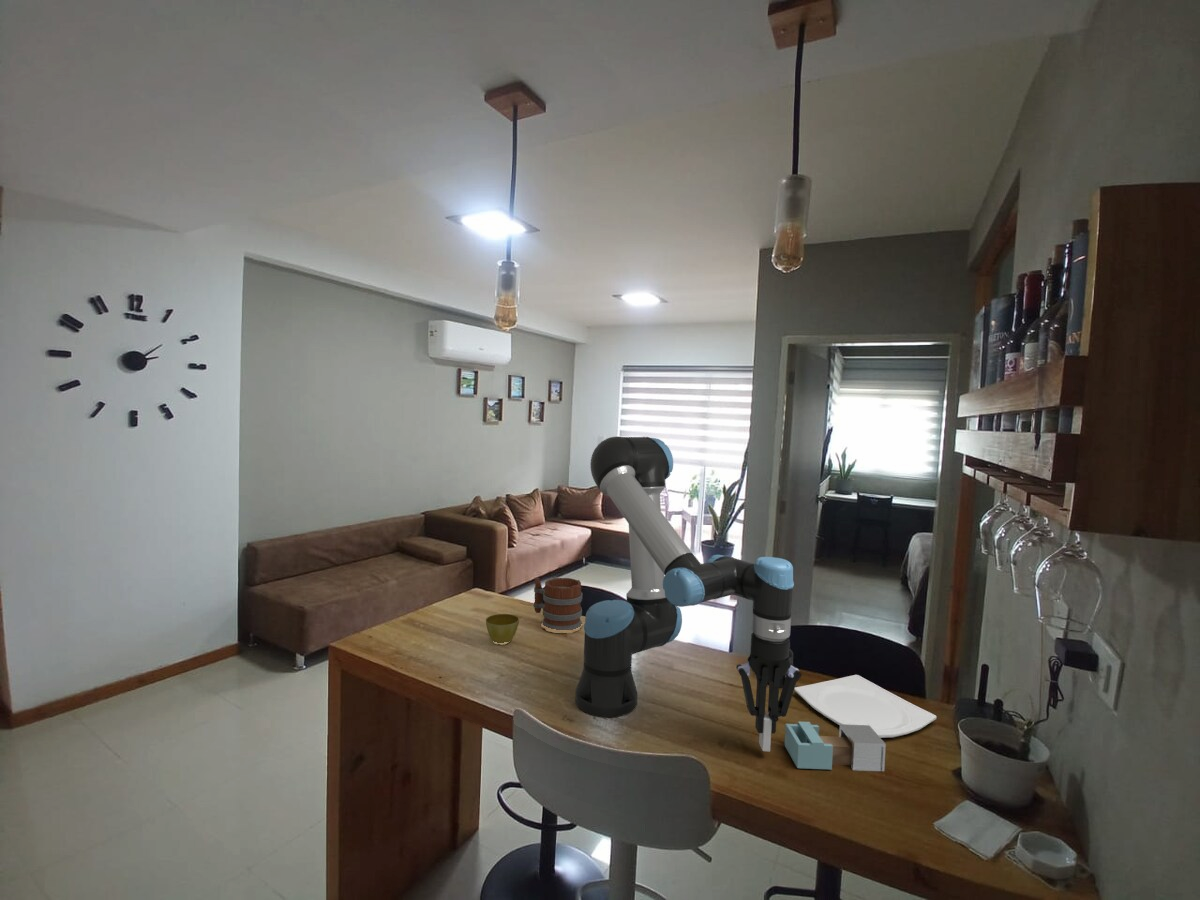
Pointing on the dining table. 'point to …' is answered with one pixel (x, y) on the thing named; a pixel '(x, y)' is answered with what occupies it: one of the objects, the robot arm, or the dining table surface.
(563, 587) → the mug
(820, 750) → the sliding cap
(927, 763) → the dining table surface
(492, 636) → the flower pot
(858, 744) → the end cap
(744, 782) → the dining table surface
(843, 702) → the plate
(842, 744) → the batten
